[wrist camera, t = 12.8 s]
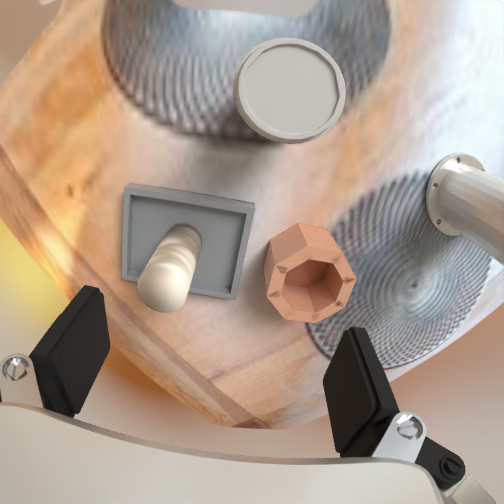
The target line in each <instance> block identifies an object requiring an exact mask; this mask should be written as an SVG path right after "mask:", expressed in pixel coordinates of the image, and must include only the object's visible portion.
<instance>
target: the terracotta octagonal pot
mask: <svg viewBox="0 0 504 504" xmlns="http://www.w3.org/2000/svg"><path fill="white" fill-rule="evenodd" d="M263 268H264V277H265V287H266V296H267V298H268V299H269V300H270V301H271V303H272V304H273V305H274V307H275V308H276V309H277V310H278V312H279V313H280V314H281V316H282V317H283V318H284V319H286V320H294V321H302V322H310V323H317V322H319V321H321V320H323V319H325V318H327V317H328V316H330V315H332V314H334V313H336V312H337V311H339V310H341V309H343V308H345V306H346V304H347V301H348V299H349V296H350V294H351V292H352V289H353V287H354V284H355V282H356V277H355V275H354V273H353V271H352V269H351V267H350V266H349V264H348V262H347V260H346V258H345V256H344V255H343V253H342V251H341V250H340V248H339V246H338V245H337V243H336V242H335V240H334V239H333V237H332V236H331V234H330V233H329V231H328V230H327V229H323V228H318V227H313V226H308V225H303V224H296V225H294V226H292V227H291V228H289V229H287V230H286V231H284V232H282V233H281V234H279V235H277V236H276V237H274V238H273V239H271V240H270V243H269V247H268V251H267V255H266V259H265V263H264V267H263Z"/></svg>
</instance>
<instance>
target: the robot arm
mask: <svg viewBox="0 0 504 504" xmlns="http://www.w3.org/2000/svg"><path fill="white" fill-rule="evenodd" d="M426 208H427V212H428V216H429V218H430V220H431V222H432V223H433V225H434V226H435V227H436V228H437V229H438V230H440V231H441V232H443V233H444V234H446V235H450V236H458V235H462V234H463V235H464V236H465V237H467V238H468V239H469V240H471V241H472V242H473V243H475V244H476V245H477V246H479V247H480V248H481V249H483V250H484V251H485V252H487V253H488V254H489V255H490V256H492V257H493V258H494V259H496V260H497V261H498V262H499V263H500V264H502V265H503V266H504V179H502V178H499V177H497V176H494V175H492V174H490V173H487V172H486V171H485V169H484V167H483V165H482V164H481V163H480V162H479V161H478V160H477V159H476V158H475V157H473V156H471V155H468V154H464V153H455V154H452V155H449V156H447V157H446V158H444V159H443V160H442V161H441V162H440V163H439V164H438V165H437V167H436V168H435V169H434V171H433V173H432V175H431V177H430V180H429V182H428V186H427V191H426ZM109 350H110V339H109V333H108V326H107V319H106V312H105V304H104V295H103V293H101V292H100V290H99V288H96V287H92V286H87V285H85V286H83V288H82V289H81V290H80V291H79V292H78V294H77V295H76V296H75V297H74V299H73V300H72V301H71V302H70V304H69V305H68V306H67V307H66V309H65V310H64V311H63V312H62V314H60V315H59V316H58V318H57V319H56V320H55V321H54V323H53V324H52V325H51V327H50V328H49V329H48V331H47V332H46V333H45V335H44V336H43V338H42V339H41V340H40V341H39V343H38V344H37V346H36V347H35V348H34V350H33V351H32V352H31V354H30V355H29V357H28V356H26V355H24V354H19V353H18V354H12V355H9V356H7V357H6V358H4V359H3V361H2V362H1V363H0V504H496V502H495V500H494V499H493V498H492V497H491V496H490V495H489V494H488V493H487V492H486V491H485V490H484V489H483V488H482V487H481V486H480V484H479V483H477V482H476V480H475V479H474V478H473V477H472V476H471V475H468V476H466V475H465V465H464V462H463V460H462V459H461V458H460V457H459V456H458V455H456V454H455V453H453V452H451V451H450V450H448V449H446V448H444V447H442V446H441V445H439V444H438V443H436V442H434V441H433V440H431V439H429V438H428V437H426V431H427V430H426V425H425V423H424V421H423V420H422V419H421V418H420V417H419V416H417V415H416V414H414V413H411V412H400V411H399V408H398V406H397V403H396V400H395V398H394V395H393V392H392V390H391V387H390V385H389V382H388V380H387V377H386V374H385V372H384V369H383V367H382V365H381V363H380V362H379V360H378V357H377V355H376V352H375V350H374V348H373V345H372V343H371V340H370V338H369V336H368V333H367V331H366V329H365V328H359V327H350V328H349V330H345V331H344V333H343V335H342V338H341V340H340V342H339V345H338V347H337V349H336V351H335V354H334V356H333V358H332V360H331V362H330V364H329V367H328V369H327V371H326V373H325V375H324V378H323V386H324V391H325V396H326V401H327V407H328V412H329V417H330V422H331V427H332V433H333V439H334V444H335V449H336V452H337V453H339V452H340V457H341V458H272V457H255V456H243V455H233V454H225V453H217V452H208V451H202V450H195V449H190V448H184V447H179V446H173V445H168V444H163V443H159V442H154V441H149V440H145V439H141V438H137V437H133V436H129V435H126V434H122V433H118V432H115V431H111V430H108V429H105V428H101V427H98V426H95V425H92V424H88V423H85V422H82V421H79V420H76V419H73V417H74V415H75V414H78V413H79V412H80V411H81V408H82V406H83V404H84V402H85V400H86V398H87V396H88V393H89V391H90V389H91V387H92V385H93V383H94V381H95V379H96V377H97V374H98V372H99V371H100V369H101V366H102V365H103V363H104V360H105V359H106V357H107V355H108V353H109Z"/></svg>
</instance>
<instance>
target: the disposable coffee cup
mask: <svg viewBox="0 0 504 504" xmlns="http://www.w3.org/2000/svg"><path fill="white" fill-rule="evenodd" d="M345 94H346V90H345V82H344V79H343V76H342V73H341V71H340V69H339V67H338V65H337V64H336V62H335V61H334V60H333V59H332V57H331V56H330V55H329V54H328V53H327V52H325V51H324V50H323V49H321V48H320V47H318V46H316V45H315V44H313V43H311V42H308V41H305V40H301V39H297V38H276V39H272V40H269V41H265V42H263V43H262V44H260V45H258V46H256V47H255V48H253V49H252V50H251V51H249V52H248V53H247V54H246V56H245V57H244V58H243V59H242V61H241V62H240V64H239V65H238V68H237V70H236V72H235V76H234V80H233V96H234V101H235V105H236V107H237V110H238V112H239V114H240V115H241V117H242V118H243V120H244V121H245V122H246V123H247V125H248V126H249V127H250V128H251V129H253V130H254V131H255V132H256V133H258V134H259V135H261V136H263V137H265V138H267V139H270V140H272V141H275V142H280V143H287V144H296V143H304V142H308V141H312V140H314V139H316V138H318V137H320V136H322V135H323V134H324V133H326V132H327V131H328V130H329V129H331V128H332V127H333V125H334V124H335V123H336V121H337V120H338V119H339V117H340V115H341V112H342V110H343V107H344V103H345Z"/></svg>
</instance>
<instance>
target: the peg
mask: <svg viewBox="0 0 504 504" xmlns="http://www.w3.org/2000/svg"><path fill="white" fill-rule="evenodd" d="M201 248H202V237H201V235H200V233H199V231H198V230H197V229H196V228H195V227H193V226H191V225H189V224H185V223H180V224H175V225H173V226H172V227H170V228H169V229H168V231H167V232H166V234H165V236H164V237H163V239H162V240H161V242H160V244H159V245H158V247H157V249H156V250H155V252H154V254H153V255H152V257H151V259H150V260H149V262H148V264H147V265H146V267H145V269H144V271H143V272H142V274H141V276H140V277H139V279H138V282H137V291H138V294H139V297H140V298H141V300H142V301H143V302H144V303H145V304H146V305H147V306H148V307H150V308H151V309H153V310H155V311H159V312H166V313H167V312H173V311H176V310H178V309H179V308H181V307H182V306H183V304H184V303H185V301H186V298H187V294H188V291H189V288H190V284H191V281H192V277H193V274H194V271H195V267H196V264H197V261H198V257H199V254H200V251H201Z"/></svg>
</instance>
